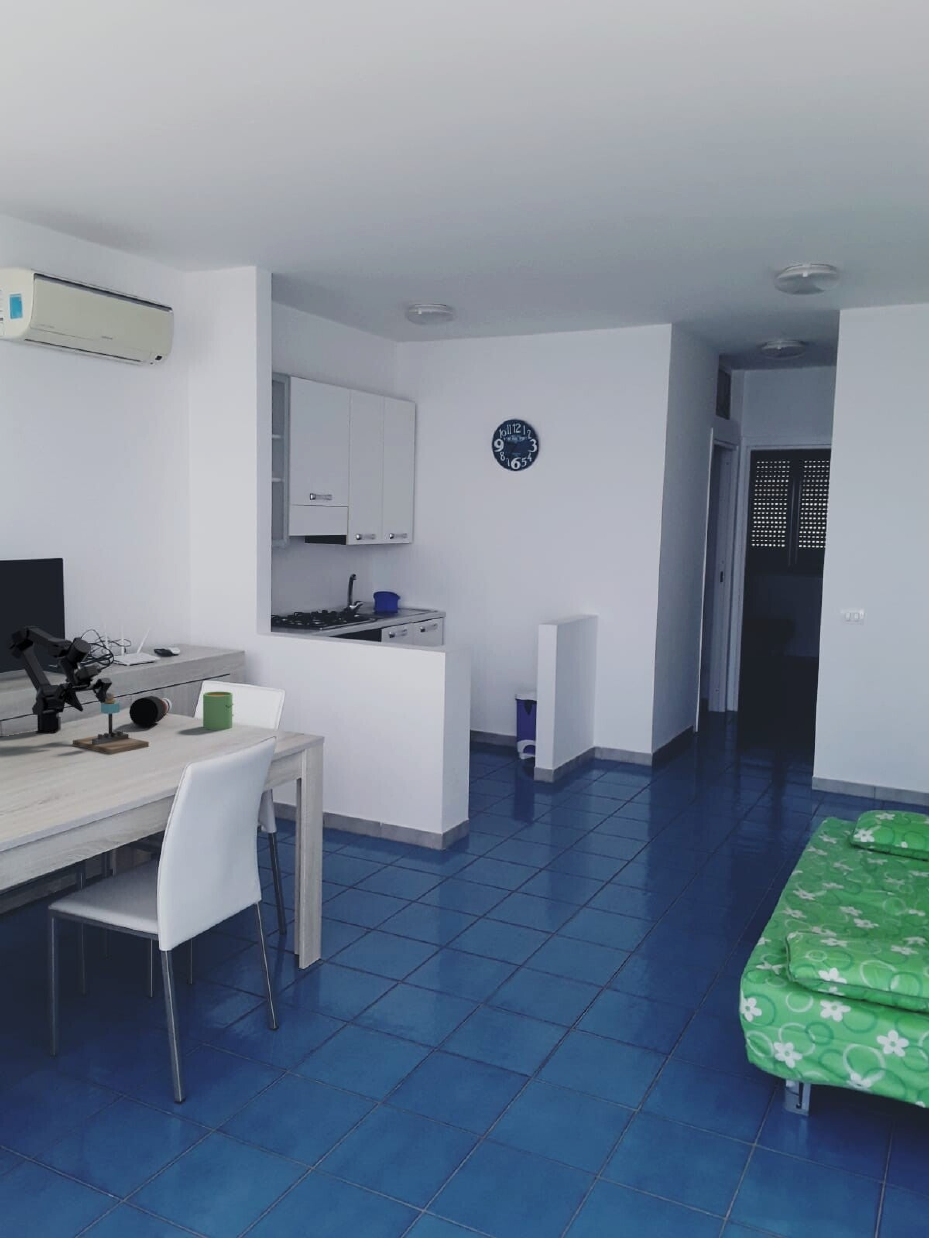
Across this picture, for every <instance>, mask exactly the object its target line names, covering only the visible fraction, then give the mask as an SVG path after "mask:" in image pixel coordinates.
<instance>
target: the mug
mask: <svg viewBox="0 0 929 1238" xmlns="http://www.w3.org/2000/svg"><path fill="white" fill-rule="evenodd" d="M202 700H203V701H202V728H203V730H207V729H210V730H209V731H225V730H230V729H232V728H233V717H234V714H233V706H234V703H233V693H232V692H230V691H220V690H219V691H207V692H204V693H202Z"/></svg>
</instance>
